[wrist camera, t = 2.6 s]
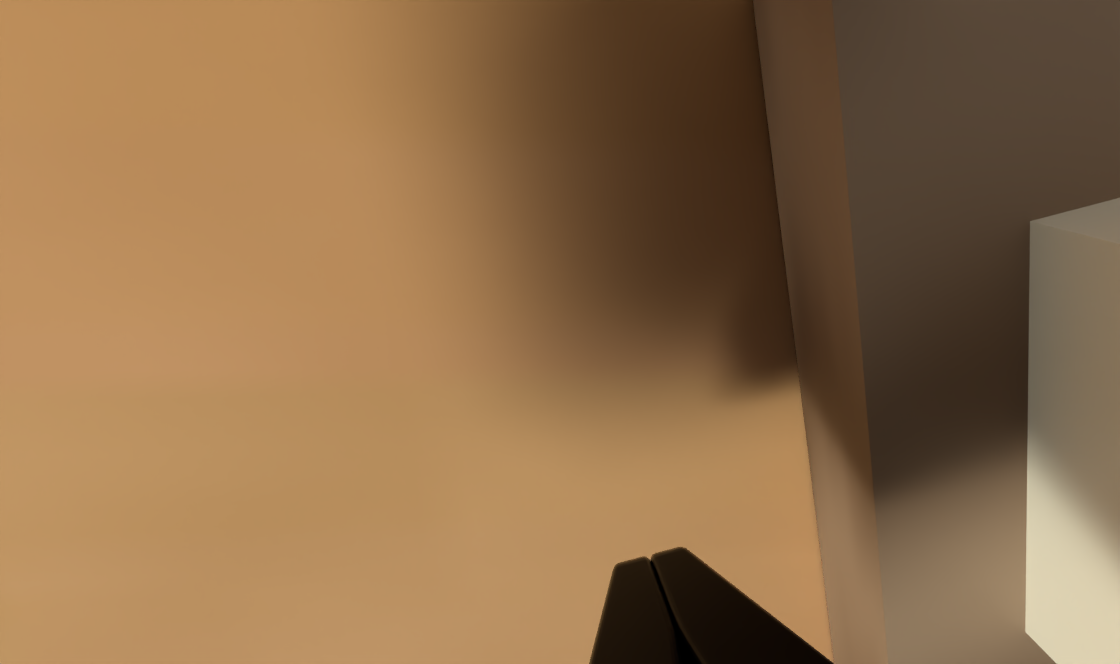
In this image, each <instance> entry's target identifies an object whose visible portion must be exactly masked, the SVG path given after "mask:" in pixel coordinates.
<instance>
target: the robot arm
mask: <svg viewBox="0 0 1120 664" xmlns="http://www.w3.org/2000/svg"><path fill="white" fill-rule="evenodd" d="M589 664H834V663H832V662H831V661H830V660H829V659H827V658H826V657H825V656H823V655H822V654H821V653H820V652H818V651H817V650H816V649H814V648H813V647H812V646H811V645H809V644H808V643H807V642H805V641H804V640H803V639H802V638H800V637H799V636H798V635H796V634H795V633H794V632H793V631H791V630H790V629H789V628H788V627H786V626H785V625H784V624H782V623H781V622H780V621H779V620H777V619H776V618H775V617H773V616H772V615H771V614H770V613H768V612H767V611H766V610H764V609H763V608H762V607H761V606H759V605H758V604H757V603H755V602H754V601H753V600H752V599H750V598H749V597H748V596H746V595H745V594H744V593H743V592H741V591H740V590H739V589H737V588H736V587H735V586H734V585H732V584H731V583H730V582H728V581H727V580H726V579H725V578H723V577H722V576H721V575H720V574H718V573H717V572H716V571H714V570H713V569H712V568H711V567H709V566H708V565H707V564H705V563H704V562H703V561H702V560H700V559H699V558H698V557H696V556H695V555H694V554H693V553H691V552H690V551H689V550H687V549H686V548H683V547H677V548H673V549H670V550H666V551H662V552H658V553H655V554H653V555H652V556H651V562H650V560H649V559H648V558H647V557H639V558H636V559H632V560H628V561H624V562H621V563H618V564H616V565H615V567H614V569H613V572H612V576H611V580H610V584H609V588H608V592H607V596H606V600H605V603H604V607H603V611H602V615H601V619H600V623H599V627H598V631H597V635H596V639H595V643H594V647H593V651H592V655H591V659H590V662H589Z"/></svg>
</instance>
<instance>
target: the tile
mask: <svg viewBox="0 0 1120 664" xmlns="http://www.w3.org/2000/svg"><path fill="white" fill-rule="evenodd" d="M1025 632H1026V633H1027V634H1028V635H1029V636H1030V637H1031V638H1032V639H1033V640H1034V641H1035V642H1036V643H1037V644H1038V645H1039V646H1040V647H1041V648H1042V649H1043V650H1044V651H1045V652H1046V653H1047V655H1048V656H1049V657H1050V658H1051V659H1052V660H1053V661H1054V662H1055V663H1056V664H1120V198H1117V199H1113V200H1109V201H1105V202H1102V203H1098V204H1094V205H1090V206H1086V207H1083V208H1079V209H1075V210H1071V211H1067V212H1063V213H1060V214H1056V215H1052V216H1048V217H1044V218H1040V219H1037V220H1033V221H1030V271H1029V358H1028V444H1027V530H1026V617H1025Z"/></svg>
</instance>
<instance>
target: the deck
mask: <svg viewBox="0 0 1120 664" xmlns="http://www.w3.org/2000/svg"><path fill="white" fill-rule="evenodd" d="M753 6H754V14H755V23H756V31H757V39H758V47H759V55H760V63H761V71H762V80H763V88H764V96H765V104H766V112H767V120H768V128H769V137H770V145H771V153H772V161H773V169H774V177H775V186H776V194H777V202H778V210H779V218H780V226H781V234H782V243H783V251H784V259H785V267H786V275H787V283H788V291H789V300H790V308H791V316H792V324H793V332H794V340H795V348H796V357H797V365H798V373H799V381H800V389H801V397H802V405H803V414H804V422H805V430H806V438H807V446H808V454H809V463H810V471H811V479H812V487H813V495H814V503H815V511H816V520H817V528H818V536H819V544H820V552H821V560H822V568H823V577H824V585H825V593H826V601H827V609H828V617H829V625H830V634H831V642H832V650H833V658H834V664H1056V663H1055V662H1054V661H1053V660H1052V659H1051V658H1050V657H1049V656H1048V655H1047V653H1046V652H1045V651H1044V650H1043V649H1042V648H1041V647H1040V646H1039V645H1038V644H1037V643H1036V642H1035V641H1034V640H1033V639H1032V638H1031V637H1030V636H1029V635H1028V634H1027V633H1026V632H1025V617H1026V530H1027V444H1028V358H1029V271H1030V221H1033V220H1037V219H1040V218H1044V217H1048V216H1052V215H1056V214H1060V213H1063V212H1067V211H1071V210H1075V209H1079V208H1083V207H1086V206H1090V205H1094V204H1098V203H1102V202H1105V201H1109V200H1113V199H1117V198H1120V0H753Z"/></svg>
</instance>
